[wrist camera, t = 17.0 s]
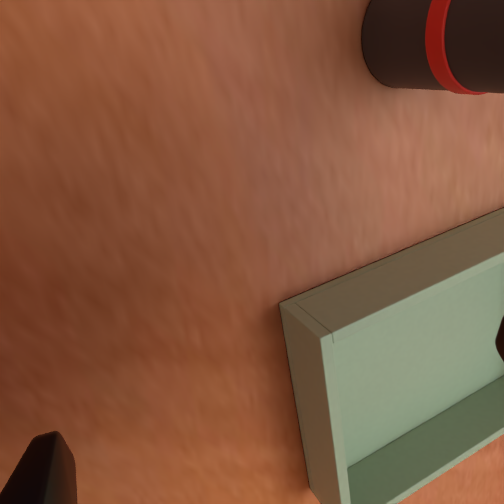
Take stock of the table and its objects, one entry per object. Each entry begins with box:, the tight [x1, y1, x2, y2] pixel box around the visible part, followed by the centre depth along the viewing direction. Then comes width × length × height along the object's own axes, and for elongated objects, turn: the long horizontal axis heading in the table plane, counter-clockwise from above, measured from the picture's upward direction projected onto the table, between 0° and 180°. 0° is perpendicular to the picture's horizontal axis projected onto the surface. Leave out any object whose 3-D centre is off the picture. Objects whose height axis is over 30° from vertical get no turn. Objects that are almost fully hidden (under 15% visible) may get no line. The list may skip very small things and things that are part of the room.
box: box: [279, 208, 504, 504], centre depth 26 cm, size 17×13×4 cm
